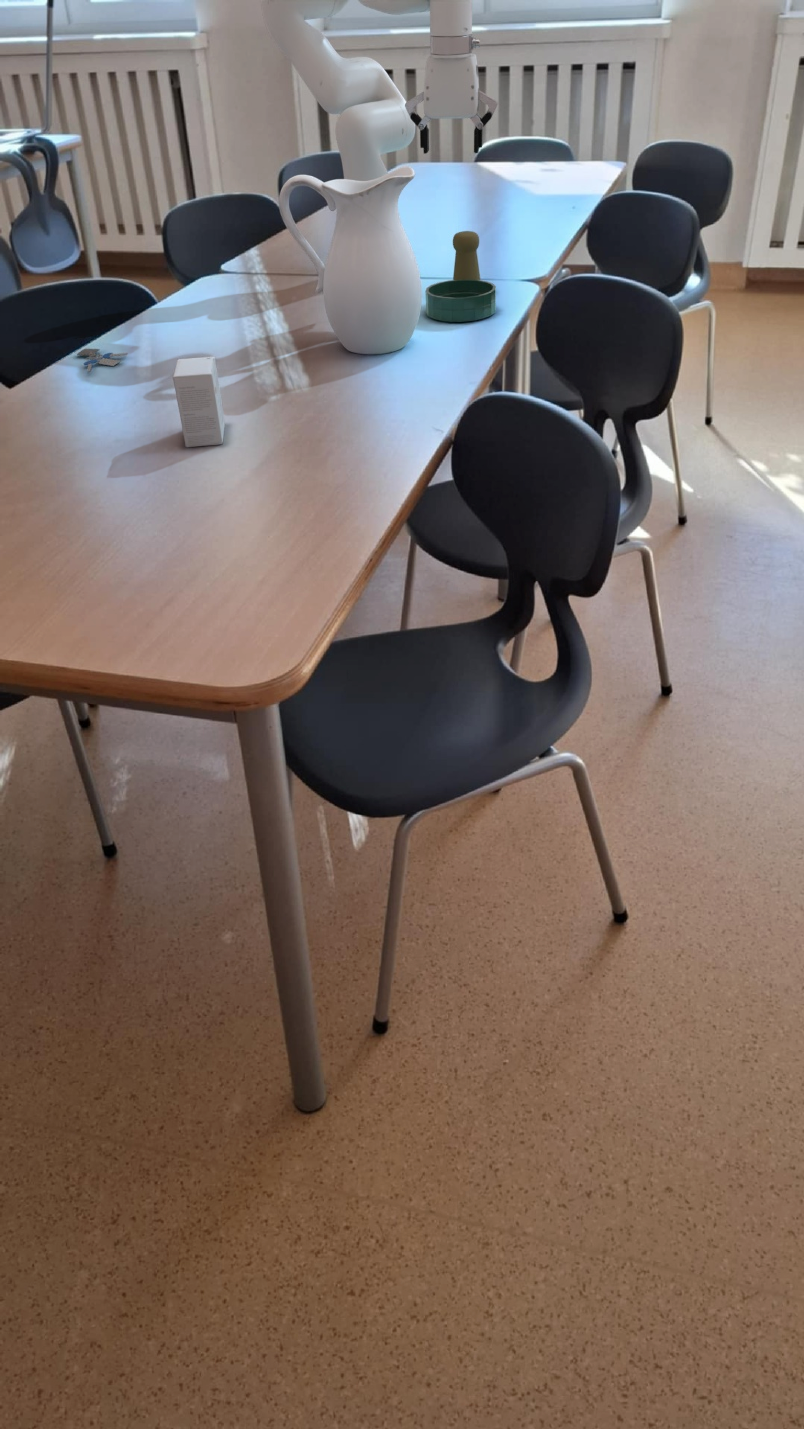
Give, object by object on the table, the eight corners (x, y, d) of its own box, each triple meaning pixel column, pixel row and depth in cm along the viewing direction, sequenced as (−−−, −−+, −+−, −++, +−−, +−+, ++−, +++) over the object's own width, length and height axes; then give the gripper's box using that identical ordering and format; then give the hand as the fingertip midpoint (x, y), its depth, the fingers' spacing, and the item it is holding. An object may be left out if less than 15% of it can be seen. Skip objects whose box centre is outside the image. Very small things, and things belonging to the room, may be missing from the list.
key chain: (74, 353, 194) (73, 348, 194) (119, 345, 197) (118, 341, 196) (87, 374, 184) (86, 370, 183) (134, 366, 186) (134, 361, 186)
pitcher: (436, 333, 193) (429, 162, 176) (405, 362, 180) (395, 182, 164) (315, 327, 200) (298, 162, 184) (277, 355, 187) (256, 181, 171)
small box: (189, 428, 161) (176, 358, 155) (226, 425, 161) (215, 355, 155) (184, 448, 155) (171, 376, 148) (223, 445, 155) (211, 373, 149)
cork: (479, 295, 210) (479, 235, 203) (449, 295, 211) (447, 235, 204) (484, 286, 214) (483, 228, 208) (454, 287, 215) (453, 228, 209)
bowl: (423, 324, 198) (422, 299, 195) (430, 304, 208) (429, 280, 206) (493, 322, 196) (493, 297, 193) (497, 302, 206) (497, 278, 204)
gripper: (500, 43, 194) (497, 148, 205) (406, 45, 197) (409, 148, 207) (497, 48, 189) (495, 155, 199) (400, 50, 191) (403, 156, 201)
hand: (451, 152), depth 203 cm, fingers open, 9 cm apart
